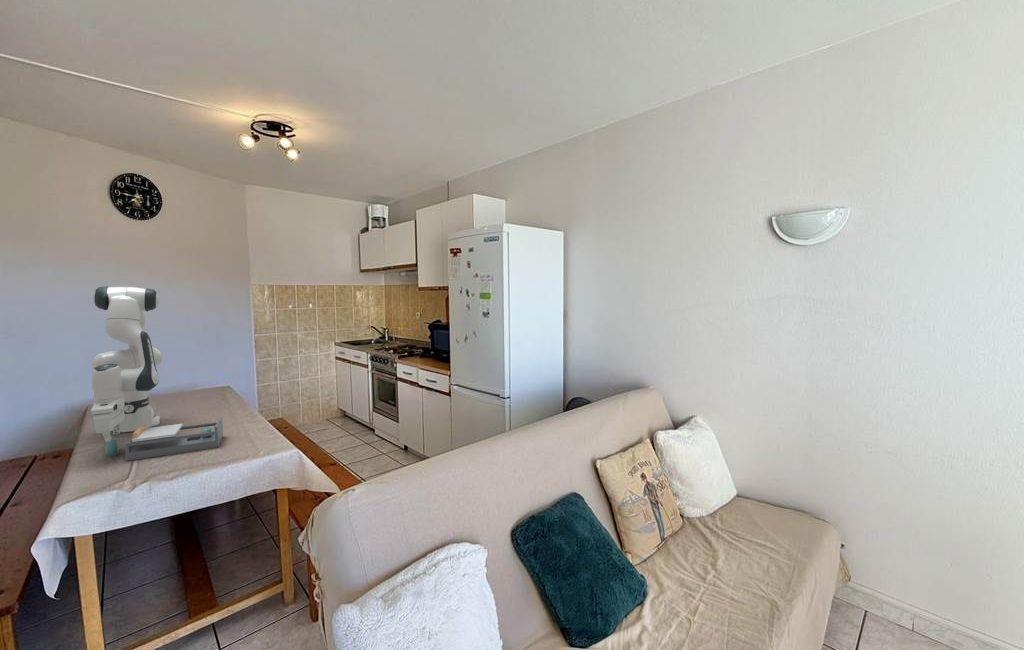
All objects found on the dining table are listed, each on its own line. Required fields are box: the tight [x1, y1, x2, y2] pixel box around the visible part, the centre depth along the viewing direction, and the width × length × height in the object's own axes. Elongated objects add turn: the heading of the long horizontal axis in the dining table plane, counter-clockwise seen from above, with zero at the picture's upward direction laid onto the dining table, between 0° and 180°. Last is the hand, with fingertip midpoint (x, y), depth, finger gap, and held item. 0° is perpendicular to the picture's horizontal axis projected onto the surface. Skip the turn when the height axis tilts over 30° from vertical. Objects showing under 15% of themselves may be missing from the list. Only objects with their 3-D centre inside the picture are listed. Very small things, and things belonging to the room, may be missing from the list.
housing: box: [124, 417, 224, 462], centre depth 176 cm, size 15×30×9 cm, turn 119°
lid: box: [132, 423, 184, 442], centre depth 173 cm, size 15×14×3 cm
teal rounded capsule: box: [104, 437, 119, 458], centre depth 168 cm, size 4×4×6 cm
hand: (112, 437), depth 168 cm, fingers open, 8 cm apart
